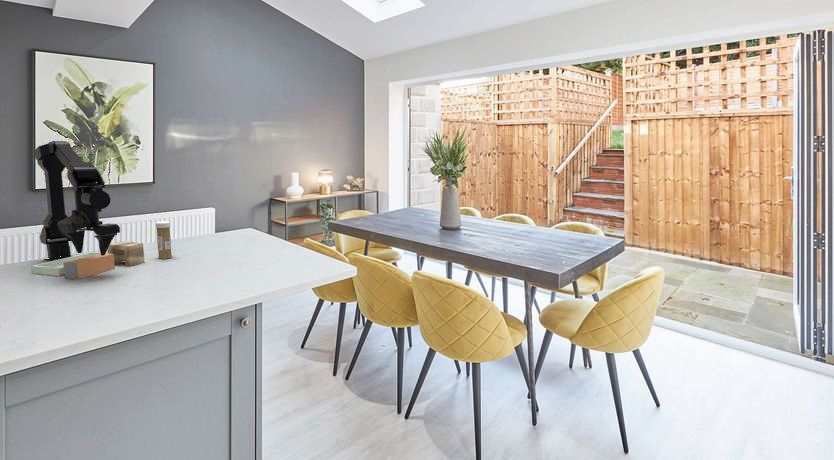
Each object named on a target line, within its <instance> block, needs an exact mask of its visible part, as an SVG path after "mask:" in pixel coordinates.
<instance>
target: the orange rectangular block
mask: <svg viewBox="0 0 834 460" xmlns="http://www.w3.org/2000/svg"><path fill="white" fill-rule="evenodd" d="M107 253H108V252H106V254H105V255H103V256H101V254H98V255H94V256H90V257H86V258H81V259H77V260H73V261H69V262H65V263H63V264H64V273H65V275H64V279H67V280H74V281H77V280H79V279H82V278H83V279H84V278H86V277H90V276H94V275H97V274H101V273H103V272H108V271H112V270H115V268H116V267H115V266H116V264H114V254H107Z"/></svg>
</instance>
